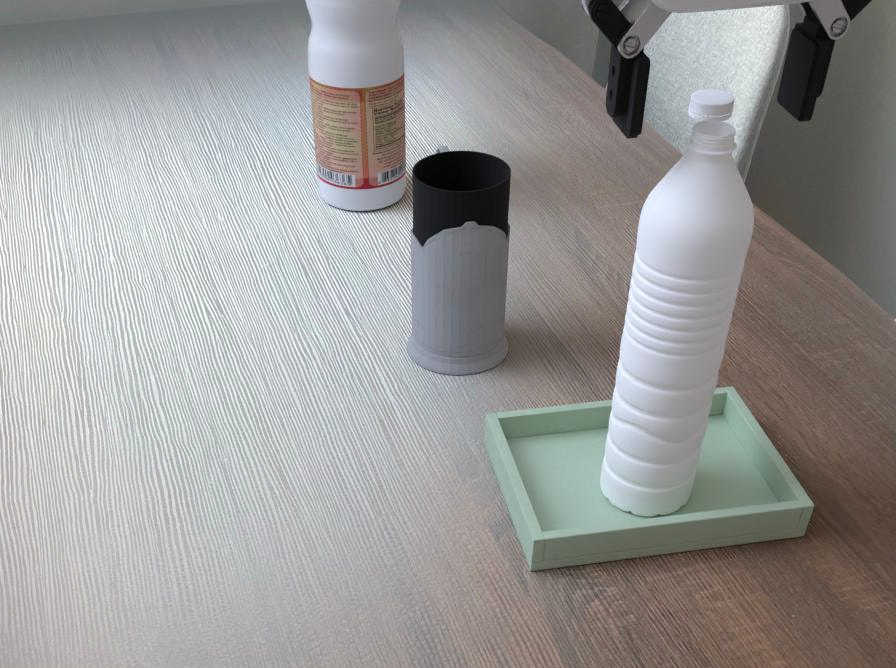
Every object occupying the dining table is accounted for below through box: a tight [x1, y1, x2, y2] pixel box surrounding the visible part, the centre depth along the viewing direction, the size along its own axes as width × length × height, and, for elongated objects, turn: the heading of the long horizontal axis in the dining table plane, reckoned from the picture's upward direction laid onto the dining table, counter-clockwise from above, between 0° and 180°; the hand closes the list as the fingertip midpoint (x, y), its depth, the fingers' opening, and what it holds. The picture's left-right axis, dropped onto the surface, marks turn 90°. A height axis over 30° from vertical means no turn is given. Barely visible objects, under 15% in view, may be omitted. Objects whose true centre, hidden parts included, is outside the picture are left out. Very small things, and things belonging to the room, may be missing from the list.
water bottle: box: [600, 88, 755, 516], centre depth 65 cm, size 9×6×25 cm
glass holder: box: [406, 145, 512, 376], centre depth 85 cm, size 9×14×15 cm, turn 9°
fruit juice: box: [304, 0, 407, 212], centre depth 99 cm, size 9×9×28 cm
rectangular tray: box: [483, 386, 815, 572], centre depth 74 cm, size 20×15×3 cm
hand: (709, 120), depth 56 cm, fingers open, 9 cm apart
